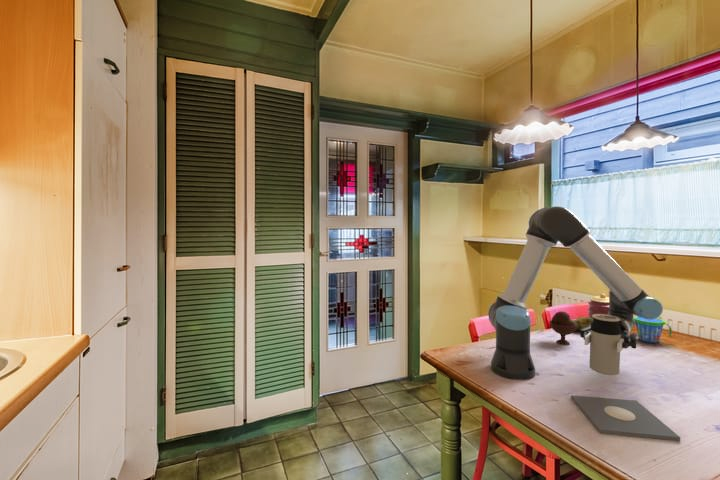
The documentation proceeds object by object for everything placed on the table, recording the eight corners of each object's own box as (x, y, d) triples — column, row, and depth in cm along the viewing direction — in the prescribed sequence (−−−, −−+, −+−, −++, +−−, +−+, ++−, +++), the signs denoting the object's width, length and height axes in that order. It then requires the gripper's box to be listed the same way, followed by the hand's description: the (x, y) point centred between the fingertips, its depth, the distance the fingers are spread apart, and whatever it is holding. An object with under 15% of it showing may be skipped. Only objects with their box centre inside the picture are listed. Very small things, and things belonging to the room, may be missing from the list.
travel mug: (625, 376, 106) (627, 320, 105) (599, 375, 106) (601, 320, 105) (608, 365, 114) (610, 313, 113) (584, 365, 114) (585, 313, 113)
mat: (599, 433, 87) (600, 428, 87) (570, 398, 105) (570, 394, 105) (680, 441, 84) (680, 436, 84) (636, 403, 101) (636, 399, 101)
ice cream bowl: (581, 348, 147) (582, 314, 147) (554, 346, 149) (554, 313, 149) (571, 340, 158) (571, 308, 157) (545, 338, 160) (546, 307, 159)
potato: (567, 327, 178) (568, 312, 177) (596, 332, 168) (597, 316, 168) (562, 330, 172) (562, 315, 172) (592, 336, 162) (592, 320, 162)
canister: (600, 330, 171) (601, 296, 171) (582, 323, 184) (582, 291, 183) (624, 329, 172) (625, 295, 172) (604, 322, 185) (604, 290, 185)
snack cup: (626, 339, 157) (626, 318, 156) (628, 334, 164) (628, 314, 164) (671, 347, 146) (672, 324, 146) (671, 341, 154) (672, 319, 153)
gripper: (652, 346, 115) (643, 365, 99) (582, 332, 130) (564, 347, 114) (653, 325, 114) (644, 340, 99) (582, 313, 129) (565, 325, 114)
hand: (601, 344), depth 106 cm, fingers closed on travel mug, 8 cm apart
